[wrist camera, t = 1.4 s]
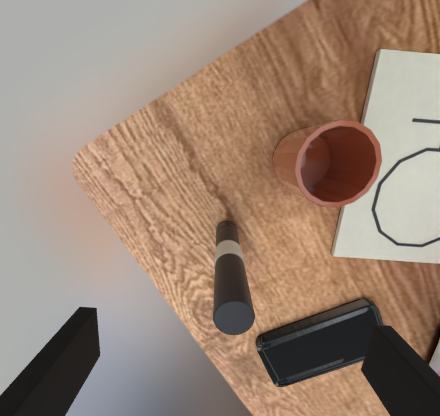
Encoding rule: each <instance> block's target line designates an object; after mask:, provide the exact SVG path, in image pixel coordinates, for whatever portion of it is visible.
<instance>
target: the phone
mask: <svg viewBox="0 0 440 416" xmlns="http://www.w3.org/2000/svg"><path fill="white" fill-rule="evenodd" d="M374 325H383V322H382V318H381V315H380V312H379V309H378V308H377V307H376V306H375V305H374V304H373V303H372V302H371V301H370V300H368V299H360V300H358V301H355V302H352V303H349V304H346V305H344V306H341V307H338V308H335V309H332V310H330V311H327V312H324V313H321V314H319V315H316V316H313V317H310V318H307V319H305V320H302V321H299V322H296V323H293V324H291V325H288V326H285V327H282V328H279V329H277V330H274V331H271V332H268V333H265V334H263V335H260V336H259V337H258V338H257V339H256V346H257V351H258V353H259V355H260V357H261V359H262V361H263V363H264V365H265V367H266V369H267V371H268V373H269V375H270V377H271V379H272V381H273V383H274V384H275V385H276V386H278V387H285V386H288V385H291V384H294V383H297V382H300V381H303V380H306V379H309V378H312V377H315V376H319V375H322V374H325V373H328V372H331V371H334V370H337V369H340V368H343V367H346V366H349V365H352V364H355V363H358V362H361V361H364V358H365V355H366V351H367V348H368V345H369V342H370V338H371V335H372V332H373V328H374Z"/></svg>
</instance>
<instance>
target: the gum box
mask: <svg viewBox="0 0 440 416" xmlns="http://www.w3.org/2000/svg"><path fill="white" fill-rule="evenodd" d="M429 366H430V367H431V368H432V369H433V370H434V371H435V372H436V373H437V374H438V375H439V376H440V339H439V342H438V345H437V347H436V350H435V352H434V354H433V356H432V359H431V361H430V363H429Z"/></svg>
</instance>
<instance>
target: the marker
mask: <svg viewBox="0 0 440 416" xmlns="http://www.w3.org/2000/svg"><path fill="white" fill-rule="evenodd" d="M214 267H215V281H214V307H213V321H214V324H215V325H216V327H217V328H218V329H219V330H220V331H221V332H223V333H225V334H229V335H239V334H242V333H244V332H246V331H248V330H249V329H250V328H251V326H252V325H253V323H254V319H255V314H254V309H253V305H252V300H251V295H250V290H249V286H248V281H247V276H246V272H245V264H244V259H243V255H242V250H241V247H240V243H239V239H238V234H237V229H236V226H235V225H234V224H233V223H232V222H230V221H223V222H221V223H220V224H219V225H218V226H217V229H216V249H215V264H214Z"/></svg>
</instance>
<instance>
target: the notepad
mask: <svg viewBox="0 0 440 416" xmlns="http://www.w3.org/2000/svg"><path fill="white" fill-rule="evenodd" d="M360 124H362V125H364V126H366V127H367V128H369V129H371V130H372V132H373V134H374V135H375V137H376V138H377V140H378V141H379V143H380V148H381V155H382V163H381V167H380V171H379V175H378V177H377V179H376V181H375V182H374V184H373V185H372V187H371V188H370V190H369V191H368V192H367V193H366V194H365V195H363V196H362V197H360V198H359V199H358V200H356V201H355V202H353V203H351V204H347V205H344V206H342V207H341V211H340V216H339V220H338V225H337V229H336V234H335V238H334V242H333V247H332V251H331V255H332V256H335V257H350V258H365V259H380V260H394V261H409V262H424V263H439V264H440V54H432V53H421V52H410V51H398V50H387V49H380V50H379V51H377V52H376V57H375V61H374V65H373V70H372V74H371V79H370V83H369V87H368V92H367V96H366V101H365V105H364V110H363V114H362V118H361V123H360Z"/></svg>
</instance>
